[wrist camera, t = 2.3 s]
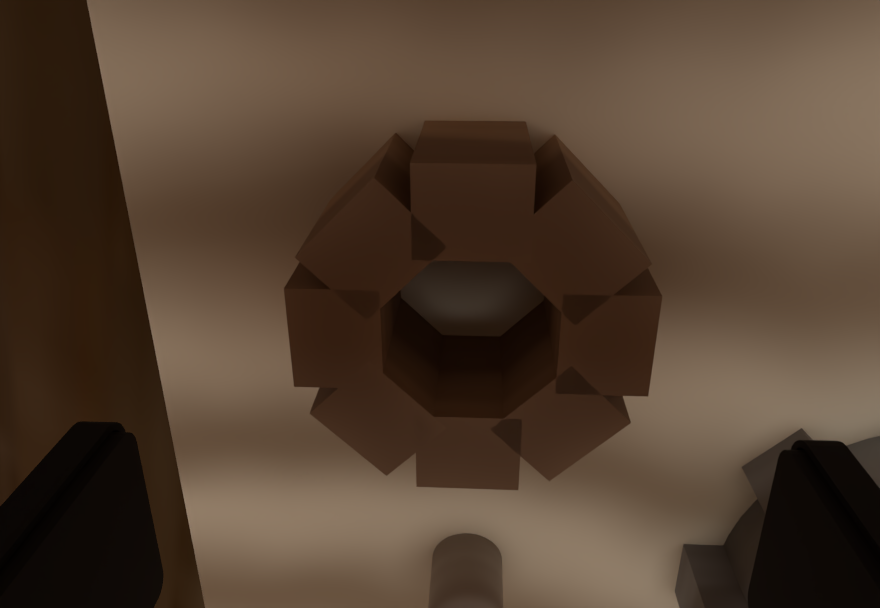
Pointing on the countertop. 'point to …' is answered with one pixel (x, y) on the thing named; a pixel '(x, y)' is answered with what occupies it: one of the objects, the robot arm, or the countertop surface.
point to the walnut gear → (473, 357)
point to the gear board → (506, 278)
